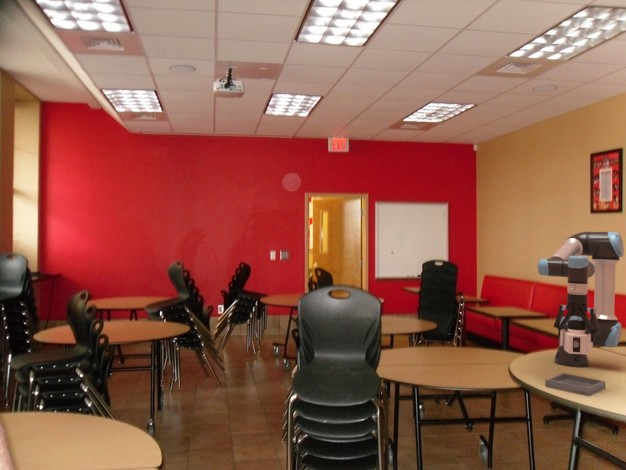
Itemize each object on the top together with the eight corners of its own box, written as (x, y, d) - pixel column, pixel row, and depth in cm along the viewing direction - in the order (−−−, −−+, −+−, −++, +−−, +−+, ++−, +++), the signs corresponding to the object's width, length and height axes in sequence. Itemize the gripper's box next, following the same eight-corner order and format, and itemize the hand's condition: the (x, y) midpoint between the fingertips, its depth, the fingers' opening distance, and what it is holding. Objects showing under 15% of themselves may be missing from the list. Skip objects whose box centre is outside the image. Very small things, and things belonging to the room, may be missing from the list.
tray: (563, 379, 238) (563, 373, 238) (605, 388, 226) (605, 381, 226) (545, 386, 227) (545, 379, 227) (588, 396, 214) (588, 388, 214)
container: (588, 354, 222) (589, 322, 222) (568, 353, 223) (568, 321, 223) (583, 351, 229) (584, 319, 229) (563, 349, 231) (564, 318, 231)
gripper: (545, 291, 232) (544, 344, 232) (603, 296, 215) (602, 353, 215) (553, 290, 237) (552, 342, 237) (610, 295, 220) (609, 351, 220)
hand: (576, 347), depth 226 cm, fingers closed on container, 10 cm apart
